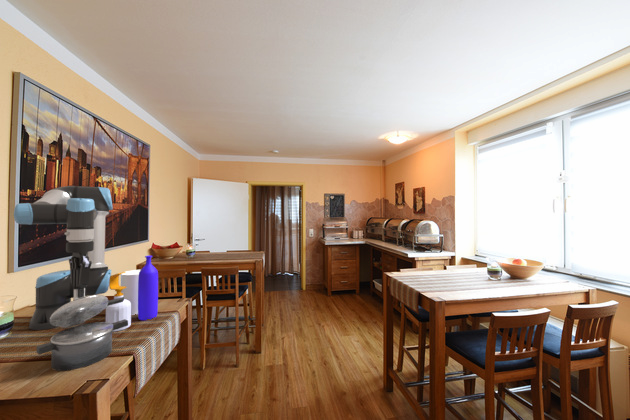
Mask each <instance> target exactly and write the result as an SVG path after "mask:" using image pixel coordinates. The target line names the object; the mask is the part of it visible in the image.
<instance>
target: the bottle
mask: <svg viewBox="0 0 630 420" xmlns="http://www.w3.org/2000/svg"><path fill="white" fill-rule="evenodd" d="M144 258H145V264H144V266H143V267H142V268H141V271H140V272H139V278H138V314H137V318H138V320H140V321H148V320H147V319H150V320H153V319H155V318H157V316H158V312H159V311H158V310H159V309H158V307H159V305H158V304H159V272H158V269H157V268H156V267H155V266H154V265H153V264H152V258H153V255H145V256H144ZM154 317H155V318H154ZM152 318H153V319H152Z"/></svg>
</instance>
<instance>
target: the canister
mask: <svg viewBox="0 0 630 420" xmlns="http://www.w3.org/2000/svg"><path fill="white" fill-rule="evenodd" d="M141 269H142V268H141ZM141 269H132V270H126V271H125V272H126V273H123V274H120V286H124V287H126V288H124V289H123V290H122V291H121V293H123V297H124V299H126V300H128V301H130V303H131V316H134V315H135V314H136V315H138V278H139V272H140V271H141Z"/></svg>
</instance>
